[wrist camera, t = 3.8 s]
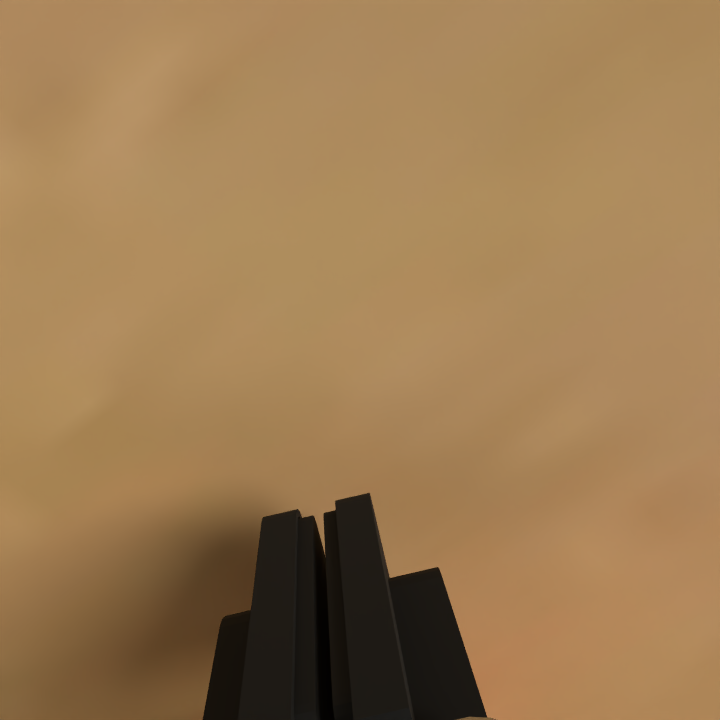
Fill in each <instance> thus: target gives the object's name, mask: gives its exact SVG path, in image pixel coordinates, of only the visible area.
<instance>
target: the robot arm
mask: <svg viewBox="0 0 720 720" xmlns="http://www.w3.org/2000/svg"><path fill="white" fill-rule="evenodd" d="M335 506H336V510H335V511H331V512H326V513H324V535H325V554H324V550H323V546H322V542H321V539H320V535H319V531H318V528H317V524H316V521H315V518H314V516H309V517H304V518H302V517H301V514H300V511H299V510H298V509H297V510H292V511H288V512H284V513H279V514H275V515H271V516H266V517H263V518H262V523H261V532H260V540H259V548H258V556H257V565H256V573H255V581H254V589H253V598H252V606H251V610H249V611H245V612H241V613H236V614H232V615H228V616H225V617H224V618H223V619H222V621H221V625H220V628H219V634H218V639H217V645H216V650H215V656H214V661H213V667H212V672H211V678H210V683H209V689H208V694H207V700H206V705H205V710H204V716H203V720H496V719H493V718H487V715H486V712H485V709H484V706H483V703H482V700H481V697H480V693H479V690H478V687H477V684H476V681H475V678H474V675H473V672H472V669H471V665H470V662H469V659H468V656H467V653H466V650H465V647H464V644H463V641H462V637H461V634H460V631H459V628H458V625H457V622H456V619H455V616H454V613H453V609H452V606H451V603H450V600H449V597H448V594H447V591H446V588H445V585H444V581H443V578H442V575H441V572H440V570H439V568H438V567H436V568H432V569H428V570H423V571H419V572H415V573H410V574H406V575H402V576H397V577H393V578H390V577H389V573H388V569H387V565H386V560H385V556H384V552H383V547H382V543H381V539H380V535H379V530H378V526H377V522H376V518H375V513H374V509H373V505H372V500H371V496H370V493H367V494H362V495H358V496H354V497H349V498H345V499H341V500H336V501H335ZM325 556H326V557H325Z"/></svg>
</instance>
